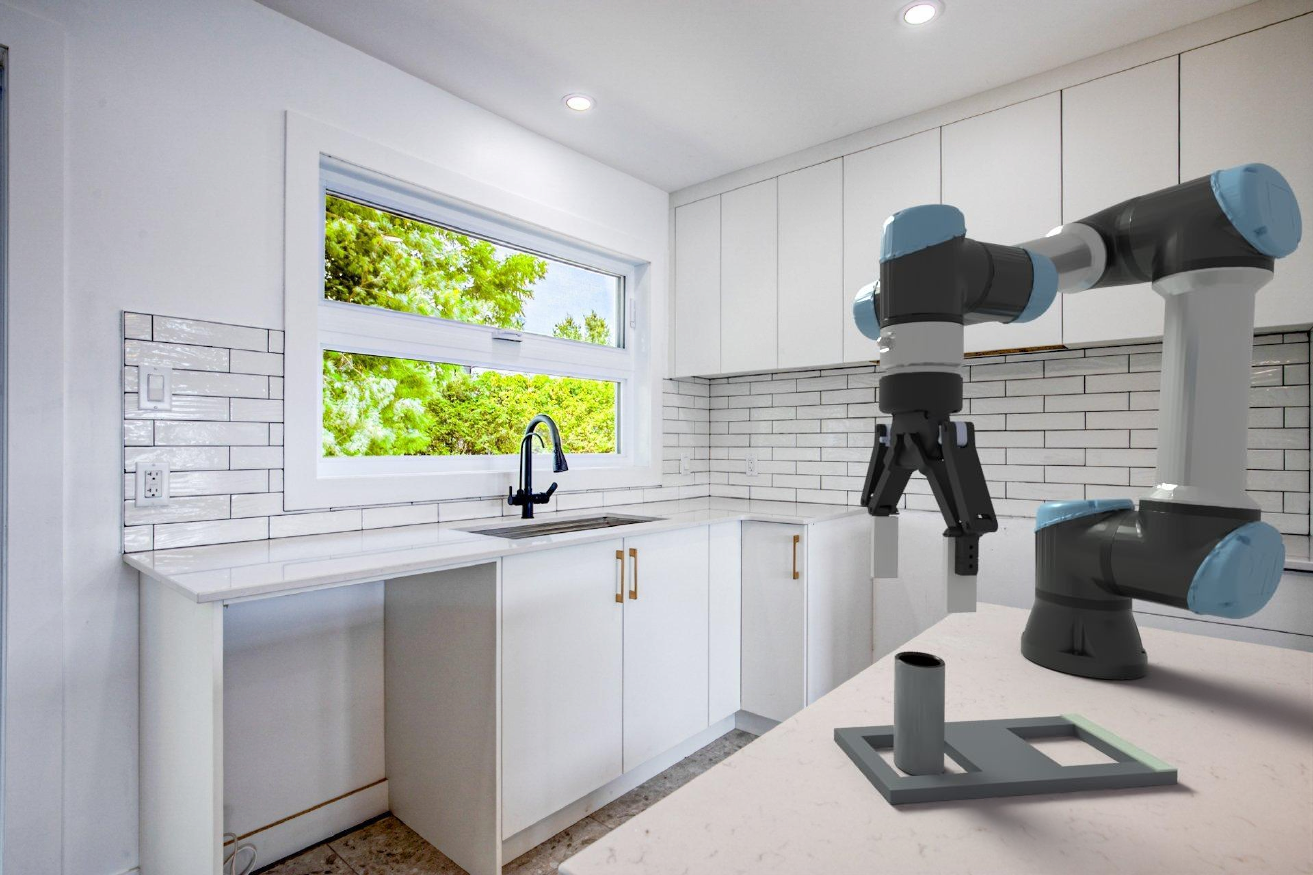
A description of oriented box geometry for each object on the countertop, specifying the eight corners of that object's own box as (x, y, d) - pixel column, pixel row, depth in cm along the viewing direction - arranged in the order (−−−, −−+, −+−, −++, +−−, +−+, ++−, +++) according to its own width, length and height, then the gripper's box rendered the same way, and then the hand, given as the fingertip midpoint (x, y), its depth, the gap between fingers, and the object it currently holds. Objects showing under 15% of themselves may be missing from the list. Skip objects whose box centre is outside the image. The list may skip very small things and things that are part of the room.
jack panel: (1076, 725, 72) (1076, 713, 72) (1177, 783, 60) (1177, 768, 60) (833, 739, 68) (834, 726, 68) (890, 804, 56) (890, 787, 56)
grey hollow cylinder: (941, 758, 64) (943, 654, 64) (946, 781, 60) (947, 669, 60) (893, 750, 66) (894, 648, 66) (893, 772, 62) (894, 663, 61)
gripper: (831, 382, 75) (829, 567, 75) (960, 356, 50) (957, 632, 50) (893, 383, 76) (891, 566, 76) (1049, 359, 51) (1046, 629, 51)
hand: (917, 593), depth 63 cm, fingers open, 13 cm apart
